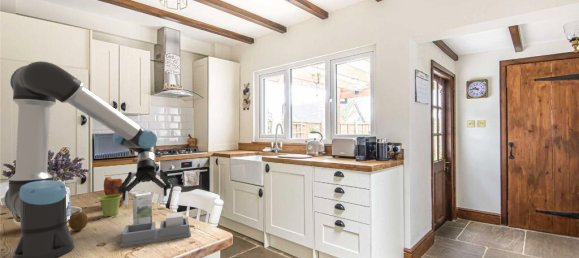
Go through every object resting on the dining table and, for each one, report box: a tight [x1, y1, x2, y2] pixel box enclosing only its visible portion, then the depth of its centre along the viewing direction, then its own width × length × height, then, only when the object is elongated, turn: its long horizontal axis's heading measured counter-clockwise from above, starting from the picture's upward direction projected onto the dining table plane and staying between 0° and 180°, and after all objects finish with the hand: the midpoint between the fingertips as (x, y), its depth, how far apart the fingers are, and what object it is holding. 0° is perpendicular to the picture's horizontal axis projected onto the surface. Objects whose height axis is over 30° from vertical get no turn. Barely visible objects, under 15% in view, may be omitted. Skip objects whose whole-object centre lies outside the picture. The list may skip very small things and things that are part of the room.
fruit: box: [68, 210, 89, 232], centre depth 116 cm, size 6×6×8 cm
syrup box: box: [132, 191, 153, 225], centre depth 117 cm, size 6×6×14 cm
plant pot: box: [97, 195, 122, 218], centre depth 137 cm, size 9×9×9 cm
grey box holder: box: [119, 211, 192, 248], centre depth 108 cm, size 23×11×7 cm, turn 112°
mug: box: [103, 176, 125, 207], centre depth 154 cm, size 15×8×15 cm, turn 58°
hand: (144, 204), depth 119 cm, fingers open, 13 cm apart
